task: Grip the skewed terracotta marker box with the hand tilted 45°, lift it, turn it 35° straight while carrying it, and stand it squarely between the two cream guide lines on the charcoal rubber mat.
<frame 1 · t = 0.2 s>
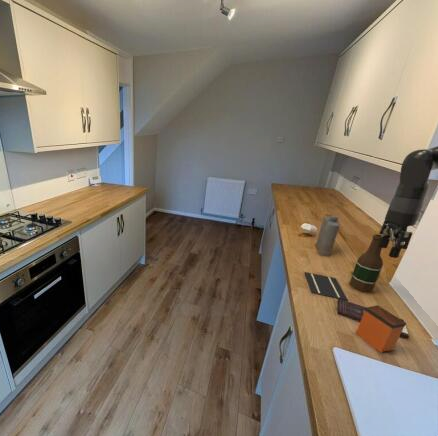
hand: (387, 252, 86), 21 cm above the counter, tool pointing down, fingers open, 8 cm apart
chocolate bar: (369, 318, 84), on the counter
mat: (324, 285, 101), on the counter
roll: (311, 225, 146), point 7 cm above the counter
marker box: (373, 341, 75), on the counter
beer bottle: (360, 287, 100), on the counter, touching gripper
cork: (361, 275, 109), on the counter
flask: (323, 250, 132), on the counter
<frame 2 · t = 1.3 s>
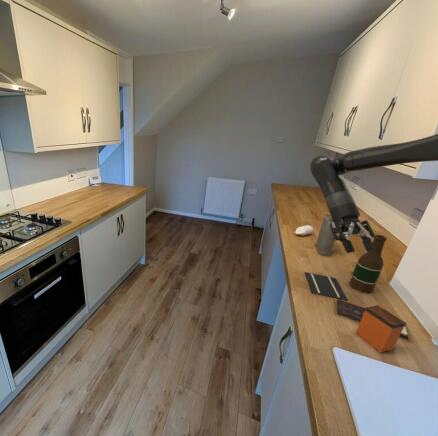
hand: (361, 251, 77), 25 cm above the counter, tool tilted 40°, fingers open, 8 cm apart
roll: (303, 226, 149), point 6 cm above the counter
beer bottle: (360, 288, 100), on the counter
everything else where it was.
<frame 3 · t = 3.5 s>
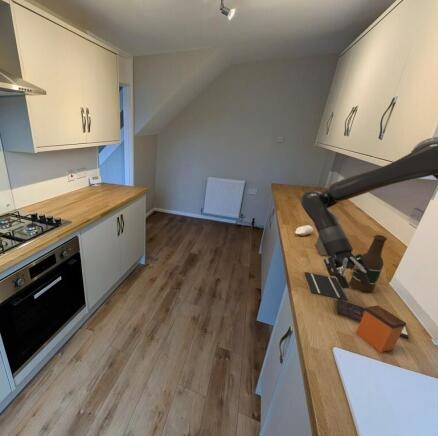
hand: (356, 286, 79), 14 cm above the counter, tool tilted 45°, fingers open, 8 cm apart
nothing on the counter moved.
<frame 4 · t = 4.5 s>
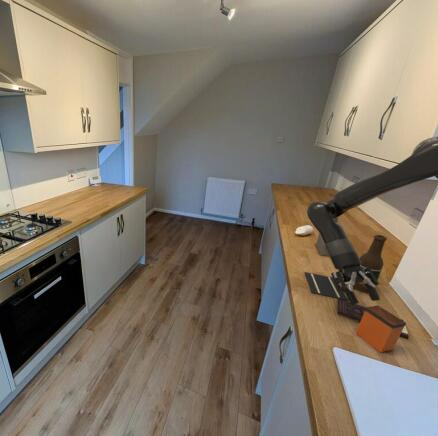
hand: (365, 302, 76), 11 cm above the counter, tool tilted 45°, fingers open, 8 cm apart
nothing on the counter moved.
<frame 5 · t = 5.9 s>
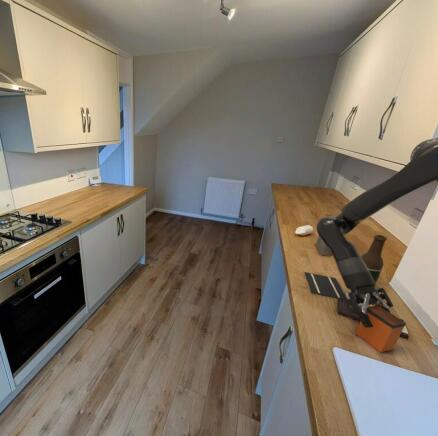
hand: (380, 325, 73), 6 cm above the counter, tool tilted 45°, fingers open, 8 cm apart
nothing on the counter moved.
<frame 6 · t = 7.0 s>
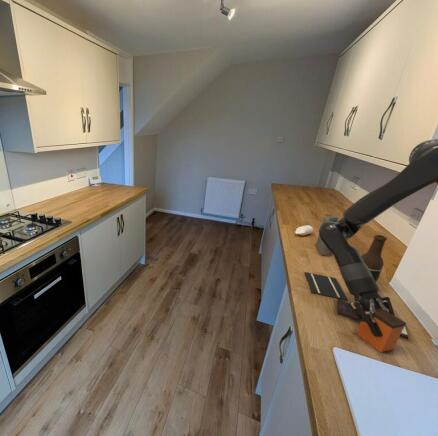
hand: (385, 334, 71), 5 cm above the counter, tool tilted 45°, fingers closed on marker box, 4 cm apart
marker box: (373, 341, 75), on the counter, touching gripper
everything else where it was.
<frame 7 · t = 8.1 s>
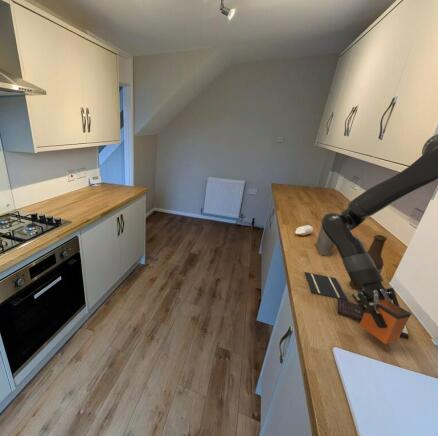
hand: (390, 325, 70), 8 cm above the counter, tool tilted 45°, fingers closed on marker box, 4 cm apart
marker box: (377, 332, 73), point 3 cm above the counter, touching gripper
everything else where it was.
when the fingers open (5 cm above the counter, at t = 18.2 s): marker box stays where it is, resting on mat.
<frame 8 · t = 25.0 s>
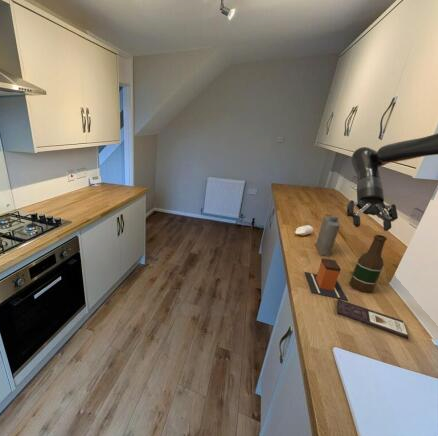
hand: (372, 228, 87), 29 cm above the counter, tool tilted 45°, fingers open, 8 cm apart
marker box: (324, 284, 101), resting on mat
everything else where it was.
at the end: marker box inside the target area on the mat (0.1 cm from its centre), point 0.4 cm above the mat's base; marker box tilted 0°; the gripper is holding nothing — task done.
